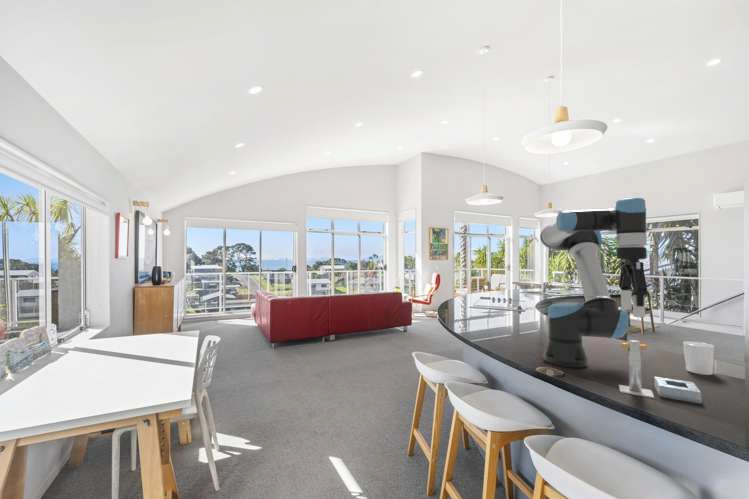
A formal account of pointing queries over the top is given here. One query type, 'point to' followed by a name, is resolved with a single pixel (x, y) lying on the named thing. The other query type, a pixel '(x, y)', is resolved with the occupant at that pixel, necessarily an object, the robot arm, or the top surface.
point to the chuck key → (634, 364)
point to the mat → (644, 392)
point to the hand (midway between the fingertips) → (632, 313)
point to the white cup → (699, 357)
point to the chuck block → (677, 390)
